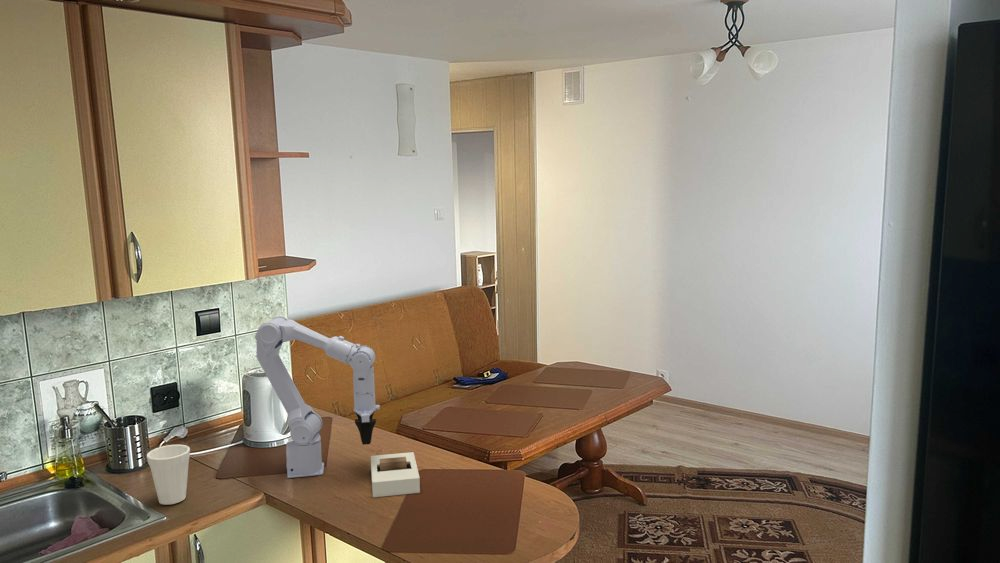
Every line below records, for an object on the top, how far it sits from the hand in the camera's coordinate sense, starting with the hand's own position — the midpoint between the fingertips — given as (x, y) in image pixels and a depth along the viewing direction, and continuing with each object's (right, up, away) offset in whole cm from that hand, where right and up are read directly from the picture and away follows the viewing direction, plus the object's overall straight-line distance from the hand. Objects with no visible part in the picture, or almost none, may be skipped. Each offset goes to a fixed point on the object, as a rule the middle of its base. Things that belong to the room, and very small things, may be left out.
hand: (366, 438), depth 194 cm
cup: (-46, -12, -15) cm, 50 cm away
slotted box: (+9, -10, -5) cm, 14 cm away
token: (+8, -10, -5) cm, 14 cm away
